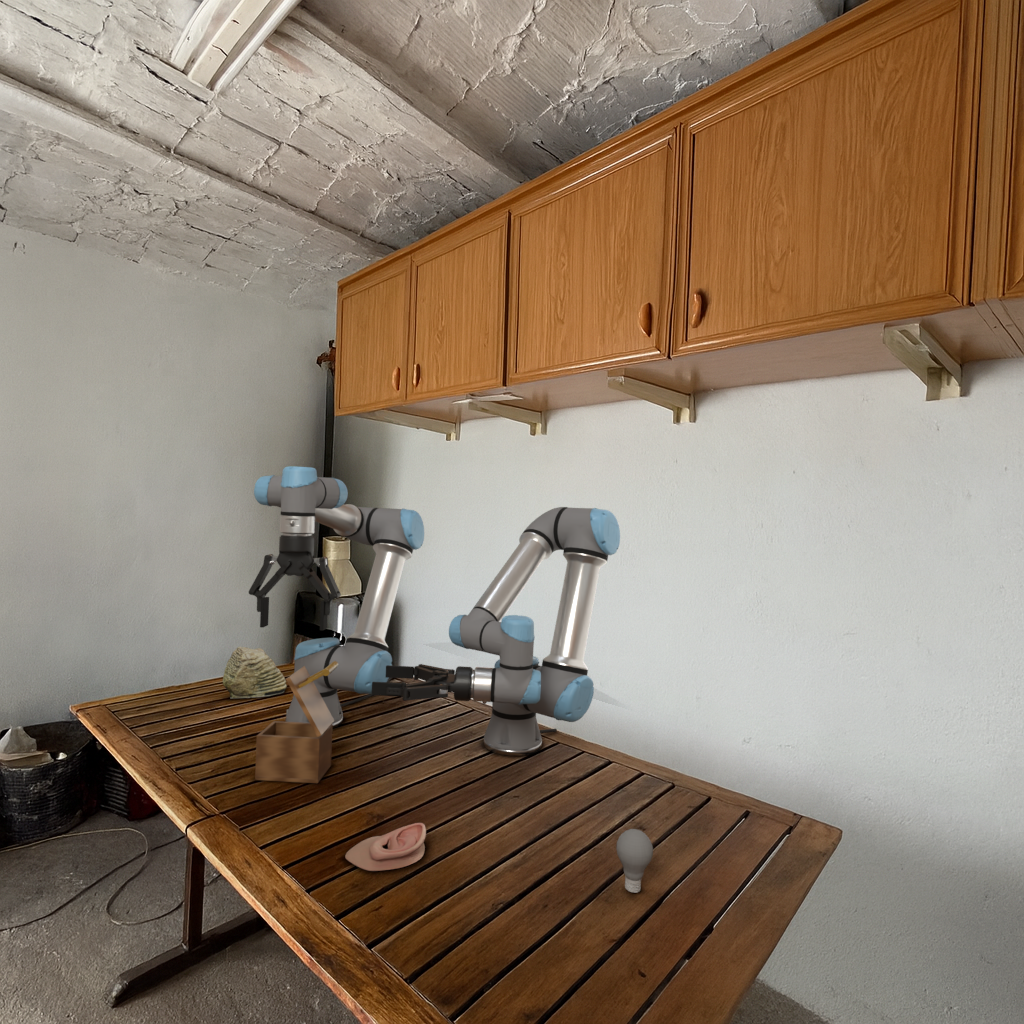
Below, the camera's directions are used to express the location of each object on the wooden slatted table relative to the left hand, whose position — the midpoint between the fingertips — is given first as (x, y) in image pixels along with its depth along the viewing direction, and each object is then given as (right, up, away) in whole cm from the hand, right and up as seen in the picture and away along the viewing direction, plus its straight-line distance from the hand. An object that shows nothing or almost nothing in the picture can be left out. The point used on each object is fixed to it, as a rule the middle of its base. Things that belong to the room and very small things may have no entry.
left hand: (293, 627), depth 144 cm
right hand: (+20, -12, 0) cm, 23 cm away
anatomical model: (+27, -35, -31) cm, 54 cm away
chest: (0, -33, +1) cm, 33 cm away
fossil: (-31, -31, +54) cm, 69 cm away
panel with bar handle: (+3, -17, 0) cm, 17 cm away
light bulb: (+70, -37, -38) cm, 88 cm away
